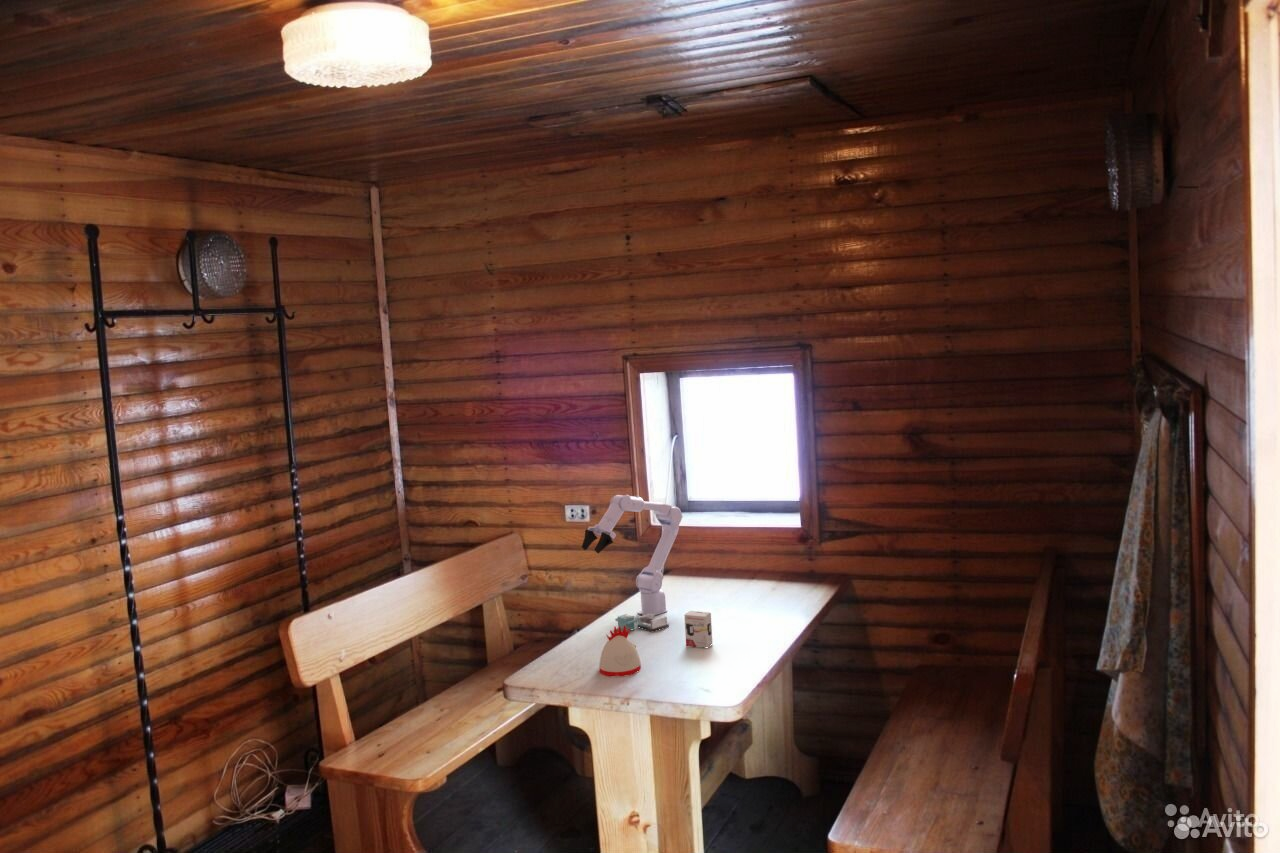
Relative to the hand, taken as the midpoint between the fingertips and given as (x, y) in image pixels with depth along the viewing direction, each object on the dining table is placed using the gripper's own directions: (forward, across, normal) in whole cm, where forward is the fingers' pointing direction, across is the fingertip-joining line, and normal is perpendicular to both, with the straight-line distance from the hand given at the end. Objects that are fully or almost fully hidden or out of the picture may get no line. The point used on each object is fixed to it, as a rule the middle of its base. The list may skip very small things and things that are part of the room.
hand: (589, 550), depth 385 cm
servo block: (+15, +10, +28) cm, 33 cm away
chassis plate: (+9, +17, +33) cm, 38 cm away
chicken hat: (+37, +42, +6) cm, 57 cm away
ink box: (+13, +46, +28) cm, 56 cm away
